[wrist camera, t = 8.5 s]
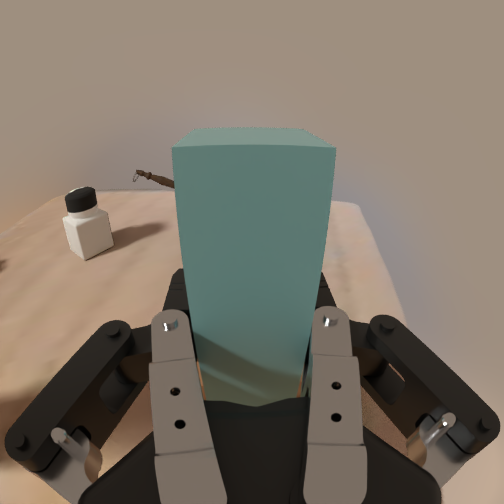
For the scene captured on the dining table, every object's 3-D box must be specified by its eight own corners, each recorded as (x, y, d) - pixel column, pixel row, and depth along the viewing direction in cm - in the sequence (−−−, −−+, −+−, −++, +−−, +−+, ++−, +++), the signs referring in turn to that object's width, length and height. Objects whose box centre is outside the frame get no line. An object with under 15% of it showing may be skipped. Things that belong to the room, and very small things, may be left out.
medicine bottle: (115, 245, 53) (103, 186, 47) (84, 261, 48) (69, 199, 41) (98, 236, 56) (87, 182, 50) (70, 250, 51) (56, 193, 45)
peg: (216, 442, 13) (171, 147, 6) (217, 389, 16) (194, 128, 9) (285, 440, 13) (336, 148, 6) (278, 387, 16) (302, 128, 9)
